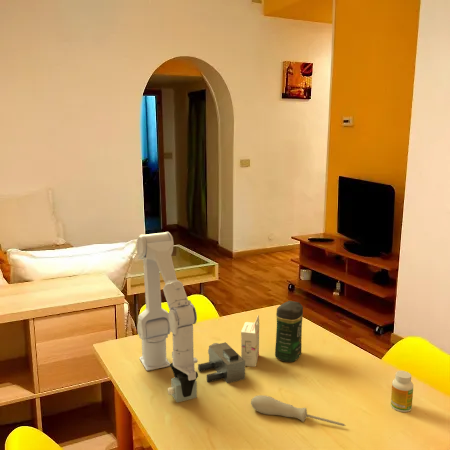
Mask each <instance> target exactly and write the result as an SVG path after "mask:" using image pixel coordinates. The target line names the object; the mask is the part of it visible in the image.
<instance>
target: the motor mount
mask: <svg viewBox="0 0 450 450" xmlns="http://www.w3.org/2000/svg"><path fill="white" fill-rule="evenodd" d="M207 354H208V362H203V363H197V371H198V372H204V371H208V370H212V369H214V370H215V372H212V373H208V374H206V381H207V383H211V382H214V381H220V380H224V382H225V383H226V384H230V383H235V382H238V381H242V380H243V381H244V380H246V366H245V360H244V359H243V358H242V357H241V355H240V354H239V353H238V352H237V351H235V350H234V348H232V346H230V345H229V344H228V343H227V342H221V343H219V342H213V343H212V344H211V345H209V346H208V350H207Z"/></svg>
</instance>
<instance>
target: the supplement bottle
mask: <svg viewBox="0 0 450 450" xmlns="http://www.w3.org/2000/svg"><path fill="white" fill-rule="evenodd" d="M413 396H414V384H413V382H412V374H411V373H410V372H409V371H405V370H398V371H396V372H395V377H394V379H393V380H392V382H391V396H390V406H391V408H392V409H393V410H394V411H397V412H401V413H408V412H410V411H411V410H412V408H413Z"/></svg>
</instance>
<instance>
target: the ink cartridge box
mask: <svg viewBox="0 0 450 450" xmlns="http://www.w3.org/2000/svg"><path fill="white" fill-rule="evenodd" d="M240 343H241V345H240V346H241V349H240V350H241V355H240V356H241V357H242V358H243V359H244V360H245V367H256V366H257V363H258V360H259V356H260V315H259V314H258V315H257V316H256V319H255V321H254V322H250V321H245V322H244V324H243V327H242V328H241V331H240Z"/></svg>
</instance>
